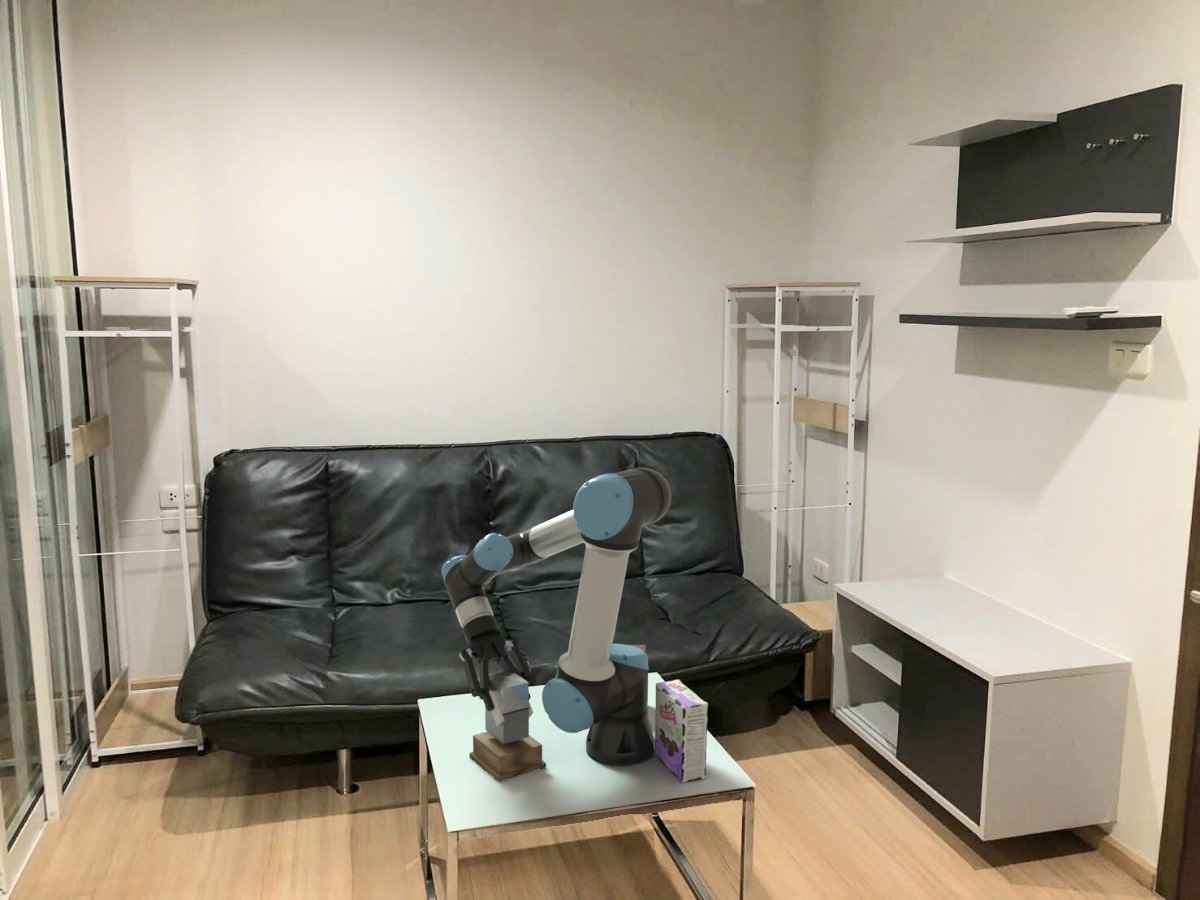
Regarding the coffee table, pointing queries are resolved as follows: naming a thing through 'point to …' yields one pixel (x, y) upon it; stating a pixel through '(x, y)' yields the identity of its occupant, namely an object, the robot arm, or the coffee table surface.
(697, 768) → the candy box
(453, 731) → the coffee table surface
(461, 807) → the coffee table surface
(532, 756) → the walnut stand
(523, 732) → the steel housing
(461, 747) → the coffee table surface
